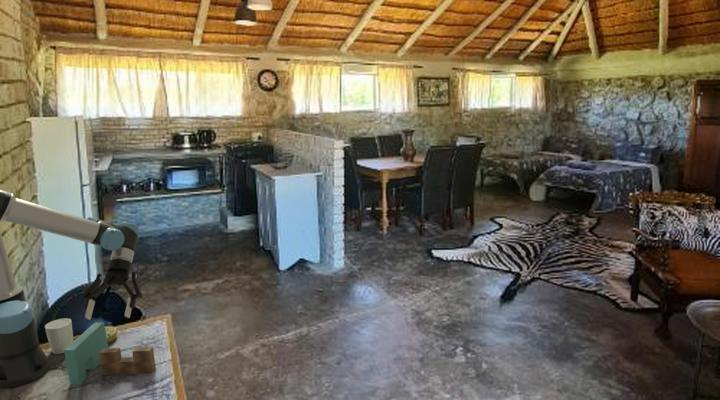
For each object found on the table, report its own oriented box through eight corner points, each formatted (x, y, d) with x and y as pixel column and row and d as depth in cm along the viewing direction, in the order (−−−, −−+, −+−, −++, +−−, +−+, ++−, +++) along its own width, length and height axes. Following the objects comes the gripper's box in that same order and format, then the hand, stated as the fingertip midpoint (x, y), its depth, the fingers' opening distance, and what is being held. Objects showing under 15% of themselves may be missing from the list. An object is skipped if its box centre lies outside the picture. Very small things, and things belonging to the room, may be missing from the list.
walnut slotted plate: (102, 375, 149) (98, 352, 147) (106, 370, 151) (102, 348, 149) (152, 373, 149) (149, 350, 147) (155, 368, 152) (152, 346, 150)
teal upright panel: (100, 353, 162) (95, 322, 159) (109, 353, 162) (103, 321, 159) (70, 385, 144) (63, 350, 141) (80, 384, 144) (73, 349, 141)
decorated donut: (88, 337, 174) (86, 327, 173) (119, 331, 177) (118, 322, 176) (81, 350, 164) (80, 341, 163) (115, 344, 168) (113, 335, 167)
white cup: (80, 343, 169) (76, 318, 166) (65, 355, 161) (60, 329, 159) (60, 343, 169) (56, 318, 167) (44, 354, 162) (39, 328, 160)
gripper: (158, 264, 177) (147, 319, 166) (92, 267, 176) (76, 322, 165) (150, 256, 171) (139, 312, 159) (82, 259, 170) (65, 315, 159)
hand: (107, 317), depth 162 cm, fingers open, 13 cm apart
